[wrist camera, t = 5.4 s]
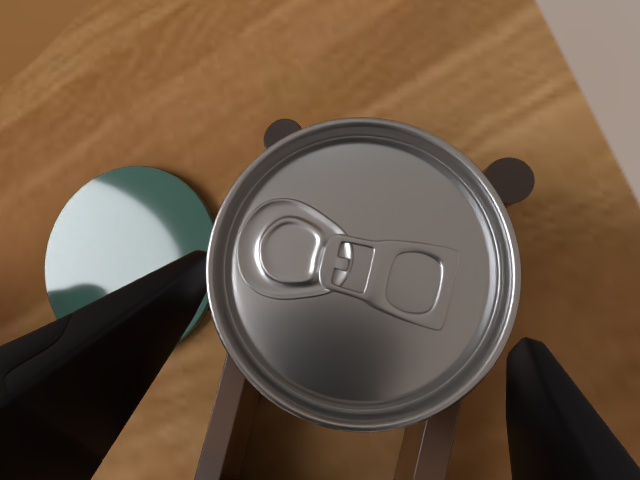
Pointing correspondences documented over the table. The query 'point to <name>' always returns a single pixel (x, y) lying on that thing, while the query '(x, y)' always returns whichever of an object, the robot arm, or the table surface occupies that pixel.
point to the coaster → (123, 236)
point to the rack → (419, 439)
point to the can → (363, 274)
